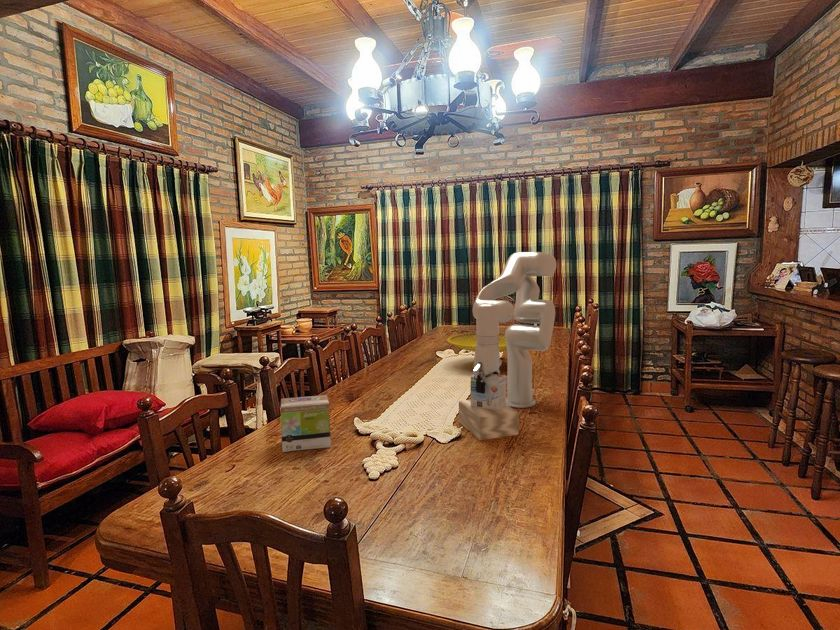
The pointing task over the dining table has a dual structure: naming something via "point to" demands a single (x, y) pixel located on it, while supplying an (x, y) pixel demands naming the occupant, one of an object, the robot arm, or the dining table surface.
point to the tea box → (305, 423)
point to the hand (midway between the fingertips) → (488, 389)
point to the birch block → (488, 421)
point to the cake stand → (473, 342)
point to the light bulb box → (490, 392)
